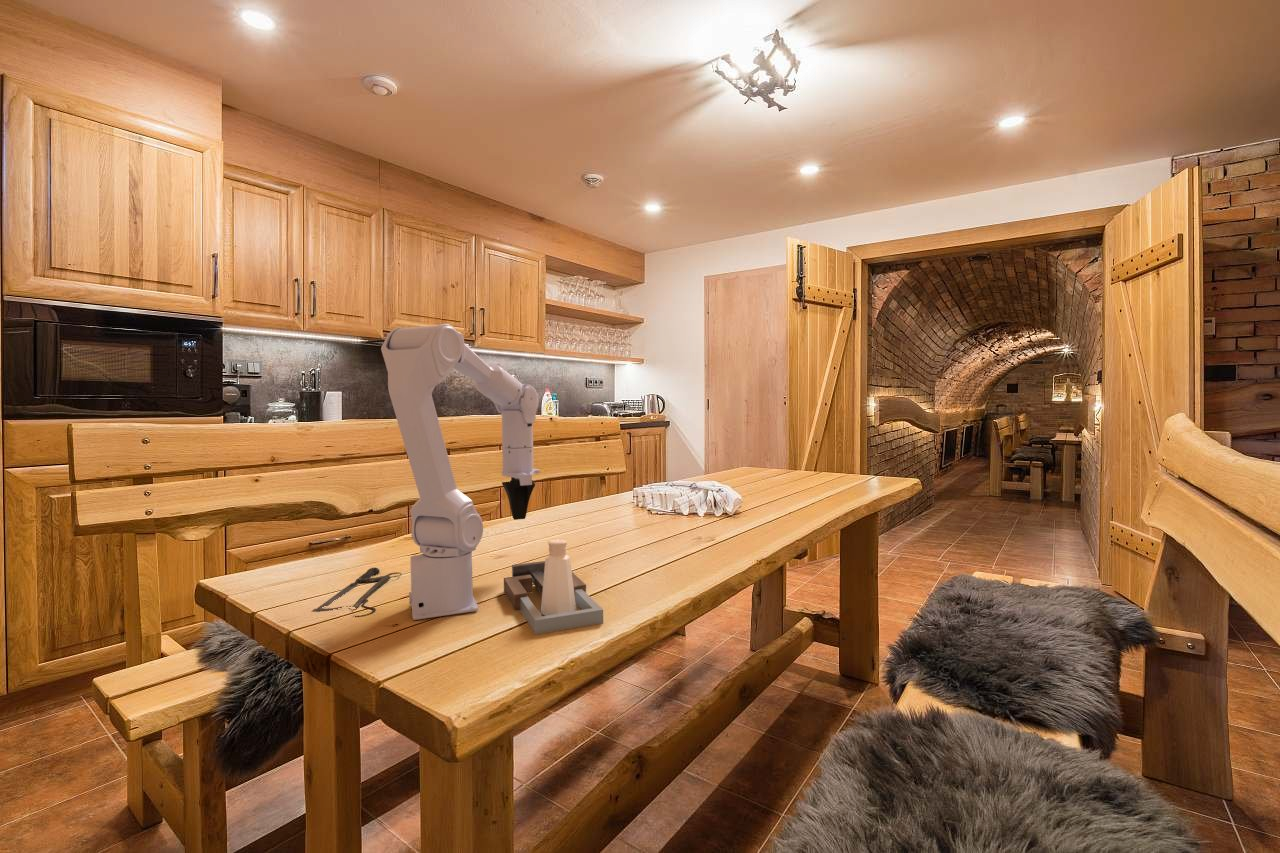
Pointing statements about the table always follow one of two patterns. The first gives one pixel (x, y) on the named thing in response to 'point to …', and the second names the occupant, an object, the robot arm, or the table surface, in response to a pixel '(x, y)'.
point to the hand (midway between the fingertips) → (519, 518)
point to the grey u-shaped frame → (563, 615)
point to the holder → (528, 588)
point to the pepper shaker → (557, 581)
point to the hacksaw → (363, 599)
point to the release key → (531, 572)
